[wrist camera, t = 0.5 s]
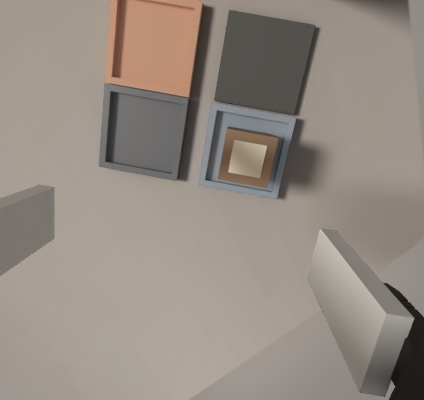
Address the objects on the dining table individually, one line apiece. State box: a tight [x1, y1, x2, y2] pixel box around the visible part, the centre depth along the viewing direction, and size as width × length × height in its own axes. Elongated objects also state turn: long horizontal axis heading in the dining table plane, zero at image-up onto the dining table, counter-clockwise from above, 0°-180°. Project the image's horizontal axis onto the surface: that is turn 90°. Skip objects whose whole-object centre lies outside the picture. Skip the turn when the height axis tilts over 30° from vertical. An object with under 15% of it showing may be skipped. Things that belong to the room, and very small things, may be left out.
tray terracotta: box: [105, 0, 204, 98], centre depth 33 cm, size 9×9×1 cm
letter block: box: [218, 126, 278, 188], centre depth 33 cm, size 5×5×6 cm
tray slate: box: [198, 103, 296, 199], centre depth 36 cm, size 9×9×1 cm
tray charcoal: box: [99, 83, 190, 181], centre depth 36 cm, size 9×9×1 cm
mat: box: [214, 10, 316, 115], centre depth 33 cm, size 9×9×1 cm
